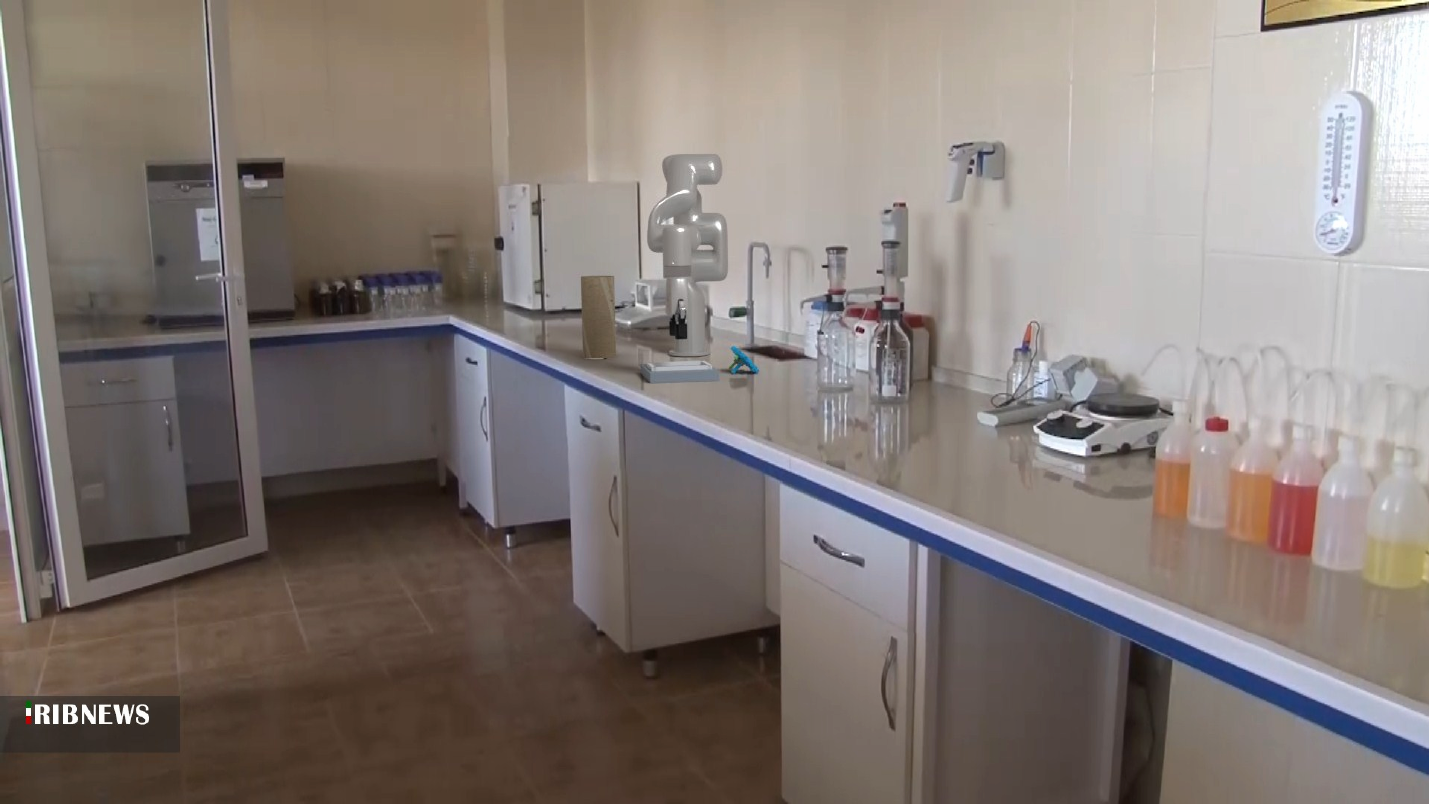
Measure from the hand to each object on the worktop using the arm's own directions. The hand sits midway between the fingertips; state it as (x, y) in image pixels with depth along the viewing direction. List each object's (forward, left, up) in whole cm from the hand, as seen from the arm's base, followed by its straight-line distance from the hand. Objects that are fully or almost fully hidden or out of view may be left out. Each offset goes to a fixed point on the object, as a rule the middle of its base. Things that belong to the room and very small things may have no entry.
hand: (678, 337), depth 305 cm
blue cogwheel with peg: (-2, +21, -12) cm, 24 cm away
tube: (-47, -17, -11) cm, 51 cm away
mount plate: (0, 0, -11) cm, 11 cm away
